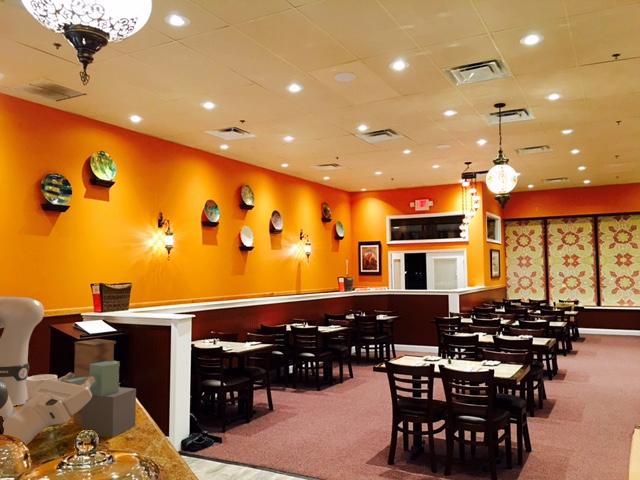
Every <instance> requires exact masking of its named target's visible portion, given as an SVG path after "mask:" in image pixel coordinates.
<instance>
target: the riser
mask: <svg viewBox="0 0 640 480" xmlns="http://www.w3.org/2000/svg"><path fill="white" fill-rule="evenodd" d="M136 403H137V388H132V387H122V386H121V387H120V386H119V391H118V393H114V394H110V395H105V396H97V395H93V394H92V398H91V400H90V401H89V402H88V403H87V404H86V405H85V406H84V407H83V409H82V425H81V432H82V431H83V430H93V431H95V432H96V433H97V434H98V436H97V437H102V438H103V437H104V438H111V439H113V438H115V437H117V436H119V435H121V434H123V433H126V432H128V431H130V430H131V428H132V427H134V426H135V427H136V415H137V414H136V411H137V409H136V408H137V404H136ZM135 427H134V428H135ZM129 429H130V430H129ZM132 429H133V428H132ZM127 430H128V431H127Z"/></svg>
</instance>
